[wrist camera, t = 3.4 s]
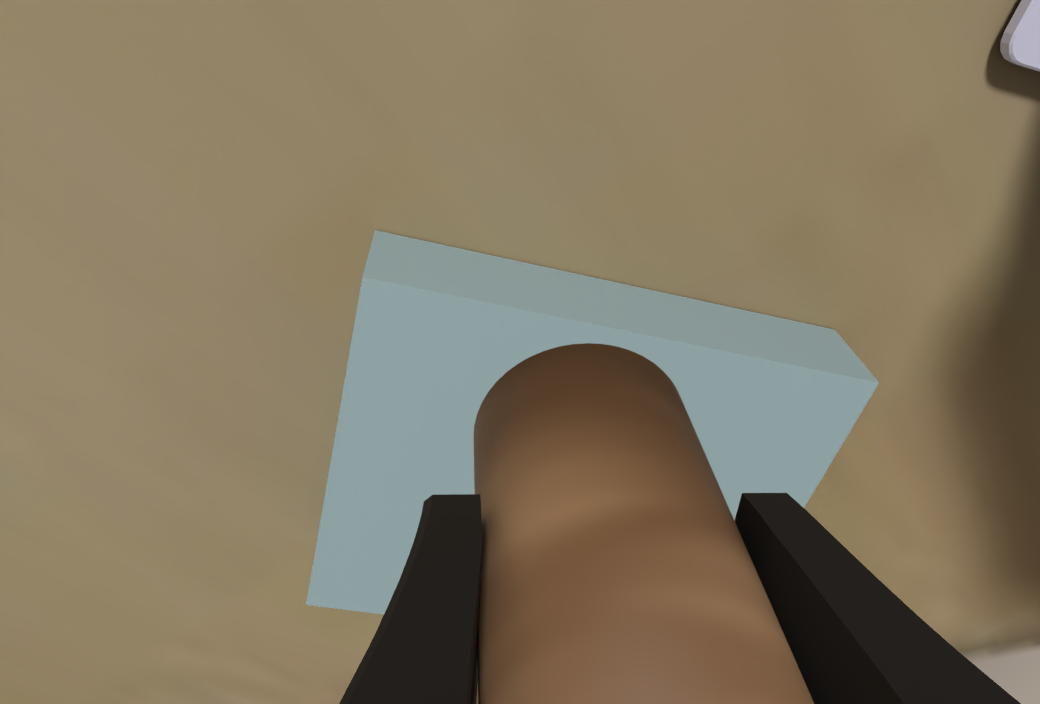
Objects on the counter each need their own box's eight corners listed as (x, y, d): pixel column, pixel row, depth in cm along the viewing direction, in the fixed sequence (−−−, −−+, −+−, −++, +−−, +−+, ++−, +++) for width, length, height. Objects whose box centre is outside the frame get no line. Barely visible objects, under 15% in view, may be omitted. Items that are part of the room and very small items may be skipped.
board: (834, 329, 20) (879, 382, 18) (693, 589, 25) (715, 655, 22) (374, 230, 17) (362, 276, 15) (321, 536, 22) (306, 604, 20)
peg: (700, 342, 11) (965, 840, 5) (669, 511, 13) (843, 1029, 7) (473, 343, 11) (485, 868, 5) (473, 516, 13) (482, 1056, 7)
